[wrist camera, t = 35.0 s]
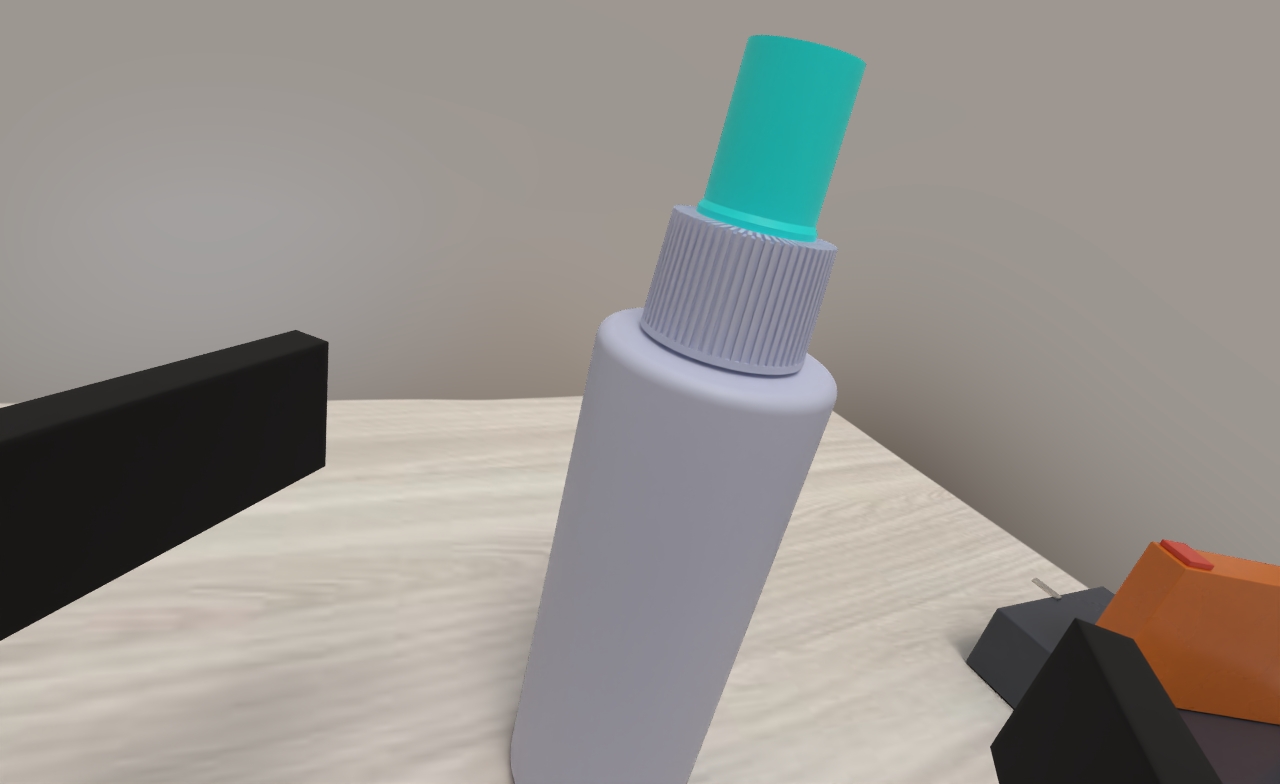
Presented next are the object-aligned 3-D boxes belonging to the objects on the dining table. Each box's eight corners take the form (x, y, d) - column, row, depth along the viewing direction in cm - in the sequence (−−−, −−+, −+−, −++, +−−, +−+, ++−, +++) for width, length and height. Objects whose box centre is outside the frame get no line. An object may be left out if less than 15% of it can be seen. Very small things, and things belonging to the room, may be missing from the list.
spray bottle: (551, 897, 17) (811, 0, 9) (483, 716, 22) (610, 9, 13) (716, 809, 20) (1021, 99, 12) (628, 669, 25) (803, 80, 16)
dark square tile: (1420, 873, 25) (1490, 815, 23) (1269, 1028, 18) (1351, 963, 17) (1078, 613, 36) (1110, 564, 35) (911, 652, 30) (942, 595, 28)
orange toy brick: (1272, 697, 27) (1376, 578, 24) (1309, 730, 25) (1424, 607, 23) (1067, 663, 26) (1154, 535, 23) (1094, 695, 24) (1189, 562, 22)
